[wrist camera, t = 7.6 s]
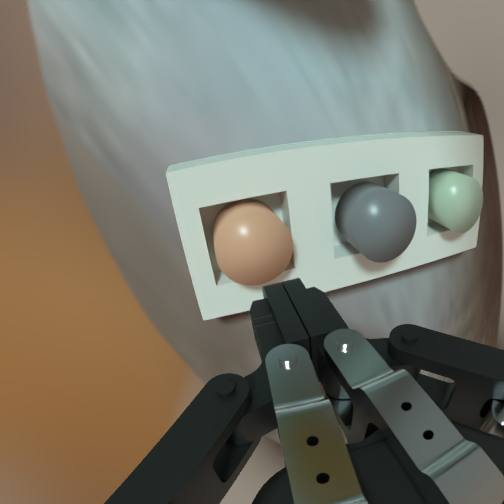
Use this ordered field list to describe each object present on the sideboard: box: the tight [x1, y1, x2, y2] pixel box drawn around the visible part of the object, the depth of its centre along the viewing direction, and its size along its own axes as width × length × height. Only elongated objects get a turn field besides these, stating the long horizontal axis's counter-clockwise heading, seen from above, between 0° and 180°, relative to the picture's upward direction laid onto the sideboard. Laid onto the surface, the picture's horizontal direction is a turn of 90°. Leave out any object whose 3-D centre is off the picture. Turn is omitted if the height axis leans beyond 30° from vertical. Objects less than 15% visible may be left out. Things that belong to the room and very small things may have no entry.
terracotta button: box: [212, 198, 293, 286], centre depth 19 cm, size 4×4×3 cm
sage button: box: [428, 168, 483, 233], centre depth 21 cm, size 4×4×3 cm
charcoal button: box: [335, 181, 417, 263], centre depth 19 cm, size 4×4×3 cm
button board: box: [166, 131, 483, 320], centre depth 22 cm, size 10×24×3 cm, turn 99°
